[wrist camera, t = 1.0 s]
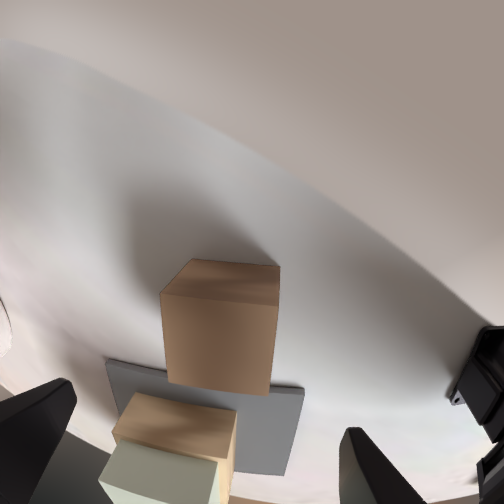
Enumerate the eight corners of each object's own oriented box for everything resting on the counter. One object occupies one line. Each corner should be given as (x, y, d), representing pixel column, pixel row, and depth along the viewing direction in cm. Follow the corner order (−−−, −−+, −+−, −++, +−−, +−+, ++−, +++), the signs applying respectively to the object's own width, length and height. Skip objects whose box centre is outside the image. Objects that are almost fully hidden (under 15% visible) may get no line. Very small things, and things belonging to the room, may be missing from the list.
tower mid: (218, 462, 14) (206, 511, 10) (220, 502, 15) (211, 540, 12) (120, 438, 14) (97, 480, 11) (139, 483, 16) (124, 518, 13)
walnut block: (280, 265, 15) (278, 306, 11) (272, 342, 16) (268, 396, 12) (192, 258, 15) (159, 293, 11) (193, 333, 17) (168, 382, 12)
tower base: (236, 411, 17) (227, 459, 13) (234, 465, 19) (227, 505, 15) (135, 392, 18) (111, 431, 14) (150, 449, 20) (135, 484, 16)
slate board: (304, 388, 17) (304, 394, 16) (284, 470, 20) (283, 475, 19) (109, 358, 18) (105, 363, 17) (134, 444, 21) (131, 449, 20)
